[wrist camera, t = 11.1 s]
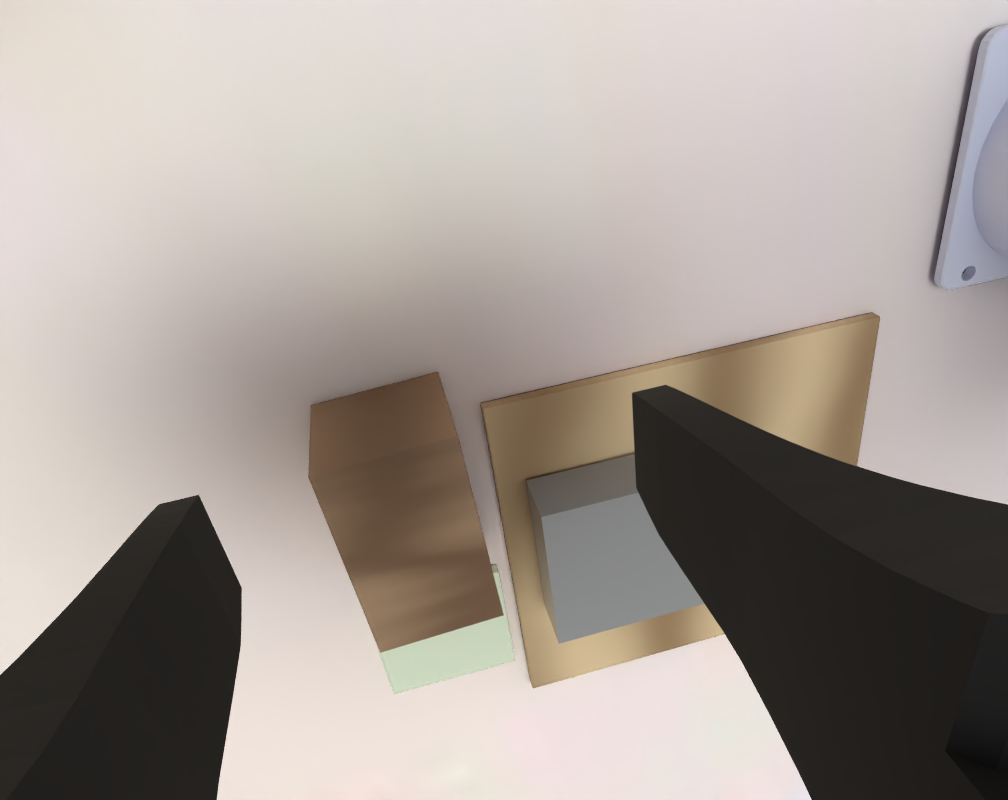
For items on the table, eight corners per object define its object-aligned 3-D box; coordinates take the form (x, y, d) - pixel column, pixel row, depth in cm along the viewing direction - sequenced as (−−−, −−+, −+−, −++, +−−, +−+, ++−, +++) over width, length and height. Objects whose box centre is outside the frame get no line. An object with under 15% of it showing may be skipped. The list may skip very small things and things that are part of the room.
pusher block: (479, 534, 26) (437, 369, 22) (504, 615, 22) (457, 436, 18) (373, 565, 25) (311, 402, 21) (380, 652, 22) (308, 477, 18)
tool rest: (496, 564, 26) (498, 571, 26) (513, 653, 29) (515, 660, 28) (363, 598, 26) (364, 607, 25) (393, 685, 28) (393, 694, 28)
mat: (872, 312, 24) (880, 316, 24) (829, 596, 31) (835, 602, 31) (480, 403, 23) (483, 409, 22) (530, 680, 30) (532, 688, 29)
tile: (773, 458, 23) (763, 587, 26) (741, 425, 25) (734, 549, 28) (541, 517, 22) (558, 643, 25) (524, 478, 24) (543, 600, 27)
